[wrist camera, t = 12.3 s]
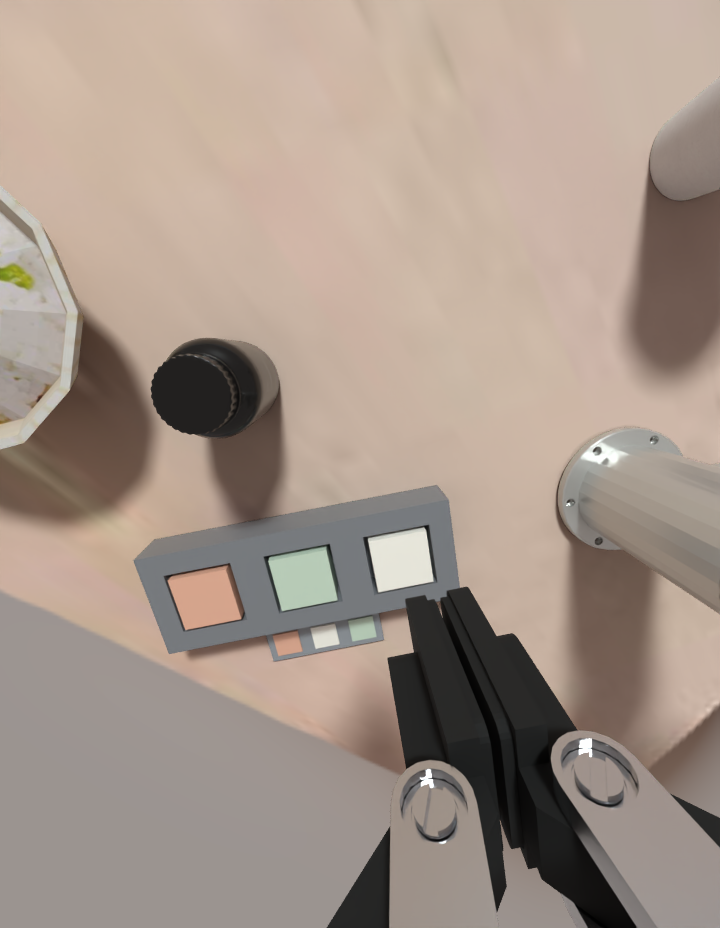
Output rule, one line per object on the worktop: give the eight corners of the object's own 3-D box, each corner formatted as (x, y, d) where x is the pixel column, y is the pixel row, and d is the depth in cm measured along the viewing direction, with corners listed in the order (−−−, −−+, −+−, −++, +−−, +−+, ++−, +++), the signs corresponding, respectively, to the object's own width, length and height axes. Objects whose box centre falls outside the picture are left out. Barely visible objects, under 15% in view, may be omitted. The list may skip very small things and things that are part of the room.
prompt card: (377, 605, 41) (377, 609, 40) (383, 636, 42) (384, 641, 42) (265, 627, 41) (264, 631, 40) (274, 657, 42) (273, 662, 41)
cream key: (419, 517, 37) (426, 530, 34) (426, 564, 39) (433, 581, 36) (365, 527, 37) (368, 542, 34) (375, 574, 39) (378, 592, 36)
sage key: (327, 535, 37) (326, 550, 34) (337, 582, 39) (337, 600, 36) (273, 545, 37) (268, 561, 34) (286, 592, 39) (282, 611, 36)
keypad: (437, 485, 38) (448, 499, 34) (449, 574, 41) (461, 596, 37) (154, 539, 38) (133, 560, 34) (184, 625, 40) (169, 654, 37)
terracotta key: (234, 553, 37) (225, 569, 34) (248, 599, 39) (241, 619, 36) (180, 563, 37) (167, 580, 34) (196, 609, 39) (185, 630, 36)
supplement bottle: (206, 333, 33) (136, 319, 22) (286, 351, 34) (260, 348, 22) (197, 412, 35) (127, 438, 23) (273, 427, 36) (242, 461, 24)
